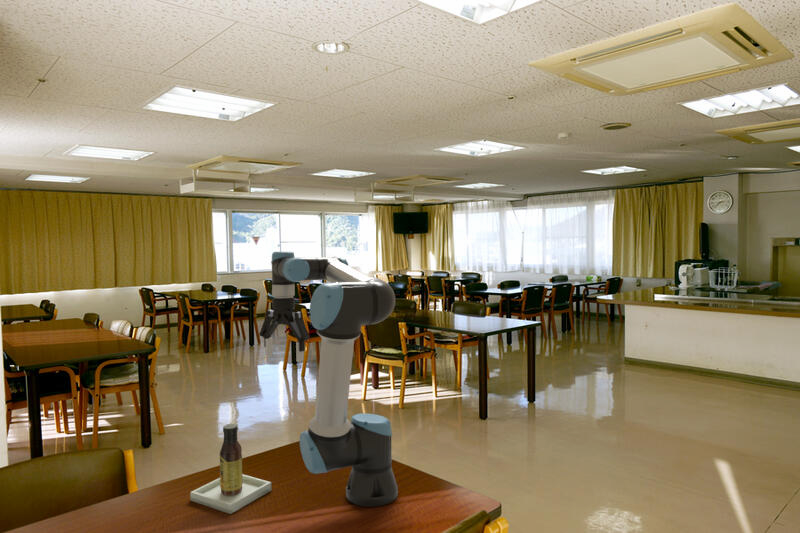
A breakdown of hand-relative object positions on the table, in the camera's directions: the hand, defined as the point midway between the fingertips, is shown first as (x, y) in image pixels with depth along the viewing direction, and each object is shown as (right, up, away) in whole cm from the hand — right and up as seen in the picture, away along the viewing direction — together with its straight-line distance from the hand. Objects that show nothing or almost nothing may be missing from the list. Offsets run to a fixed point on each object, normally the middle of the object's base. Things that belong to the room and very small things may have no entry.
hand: (284, 359), depth 181 cm
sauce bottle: (-10, -35, -25) cm, 44 cm away
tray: (-10, -36, -25) cm, 45 cm away
